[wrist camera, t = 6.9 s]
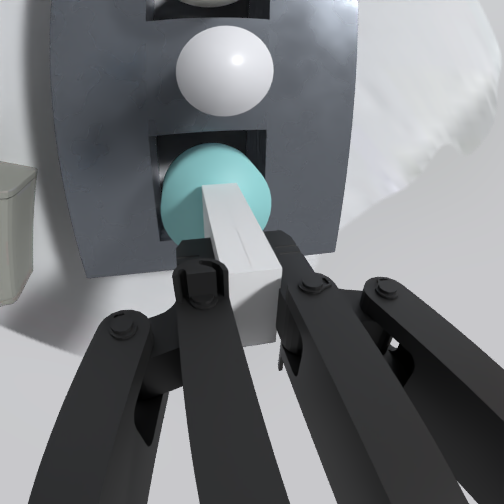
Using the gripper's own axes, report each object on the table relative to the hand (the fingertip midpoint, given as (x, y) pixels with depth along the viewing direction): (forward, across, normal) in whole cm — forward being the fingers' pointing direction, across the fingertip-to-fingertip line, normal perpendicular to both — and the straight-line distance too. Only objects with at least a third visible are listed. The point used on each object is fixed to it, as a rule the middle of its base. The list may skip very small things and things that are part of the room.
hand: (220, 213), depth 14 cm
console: (+8, 0, +6) cm, 10 cm away
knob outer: (+8, 0, 0) cm, 8 cm away
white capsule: (+3, 0, +6) cm, 7 cm away
